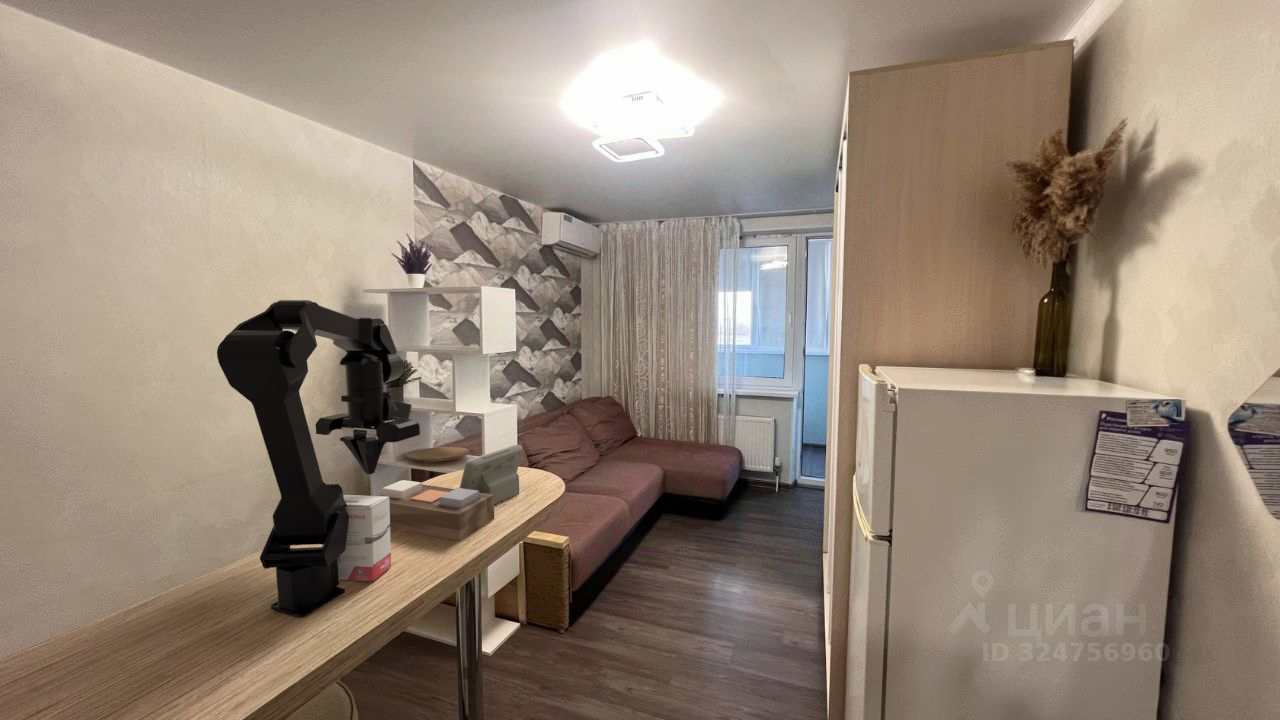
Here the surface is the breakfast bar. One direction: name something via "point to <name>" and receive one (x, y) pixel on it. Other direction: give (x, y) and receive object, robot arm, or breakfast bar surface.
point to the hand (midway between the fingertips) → (370, 473)
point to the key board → (440, 515)
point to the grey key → (459, 498)
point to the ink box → (366, 538)
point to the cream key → (402, 489)
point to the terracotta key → (429, 496)
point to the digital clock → (494, 473)
